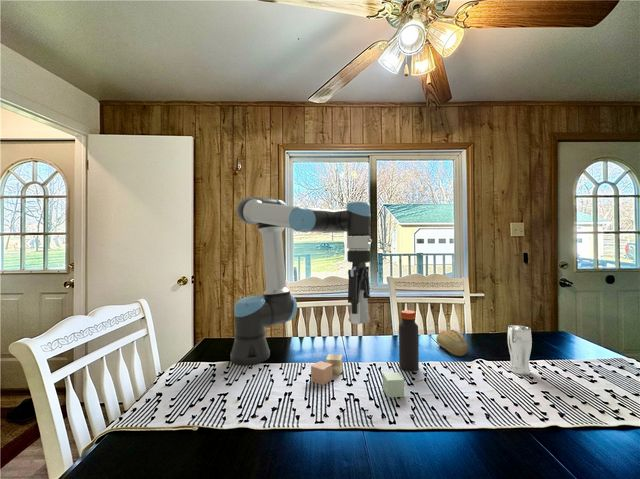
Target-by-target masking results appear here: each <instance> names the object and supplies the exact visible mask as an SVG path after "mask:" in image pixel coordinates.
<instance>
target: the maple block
mask: <svg viewBox="0 0 640 479" xmlns="http://www.w3.org/2000/svg"><path fill="white" fill-rule="evenodd" d="M325 363H329V364H332V375H339V376H341V375H342V371H343V354H337V353H335V354H332V353H328V354H327V356H326V359H325Z"/></svg>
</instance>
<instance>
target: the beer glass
mask: <svg viewBox="0 0 640 479" xmlns="http://www.w3.org/2000/svg"><path fill="white" fill-rule="evenodd" d="M531 329H532V328H530V327H528V326H525V325H518V324H511V325H508V326H507V346H508V352H509V355H510V363H509V368H508V369H509V371H510V372H512V373H514V374H516V375H520V376H521V375H522V376H527V375H528V376H529V375H530V374H531V368H530V357H531V352H532V346H533V345H532V343H533V341H532V340H533V338H532V330H531Z"/></svg>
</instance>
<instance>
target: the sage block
mask: <svg viewBox="0 0 640 479" xmlns="http://www.w3.org/2000/svg"><path fill="white" fill-rule="evenodd" d="M382 390H383V392H384V394H385V395H386V397H387V398H400V397H405V379H404V378H403V376H402V375H401V374H400V372H397V371H395V372H382Z"/></svg>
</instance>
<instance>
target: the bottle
mask: <svg viewBox="0 0 640 479" xmlns="http://www.w3.org/2000/svg"><path fill="white" fill-rule="evenodd" d="M400 313H401V314H400V315H401V316H400V317H401V322H400V323H399V324H398V367H399V368H400V369H401V370H403V371H408V372H415V371H418V370H419V367H420V366H419V364H420V363H419V359H420V358H419V357H420V356H419V353H420V352H419V325H418V324H417V323H416V311H415V310H410V309H409V310H408V309H405V310H401V311H400Z"/></svg>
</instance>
